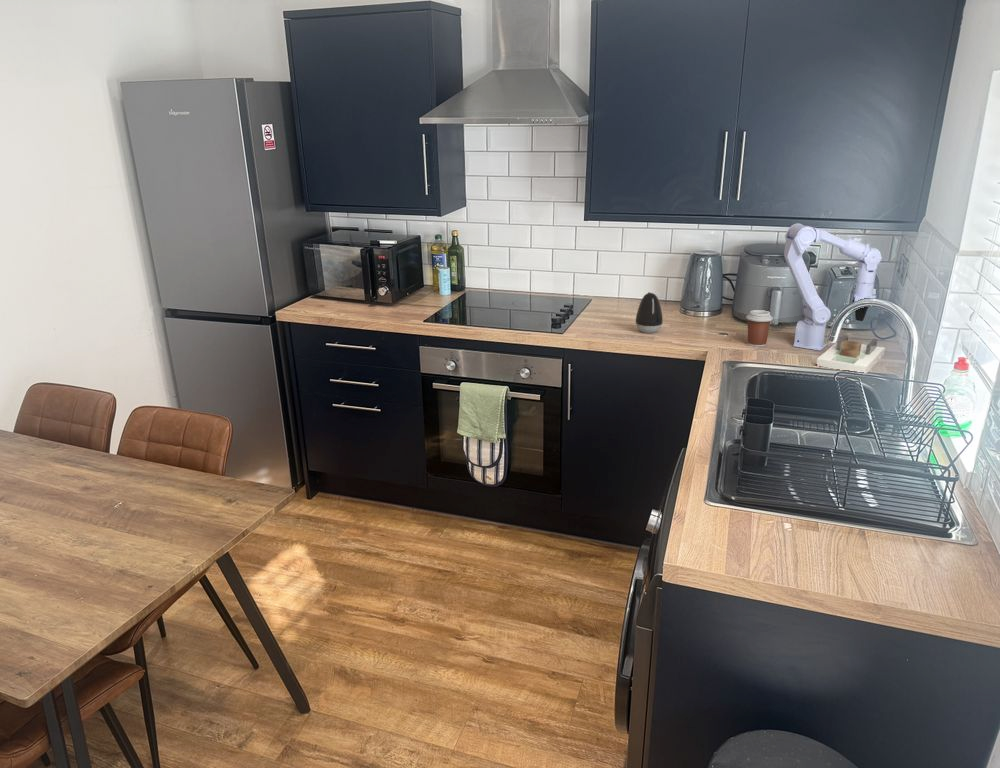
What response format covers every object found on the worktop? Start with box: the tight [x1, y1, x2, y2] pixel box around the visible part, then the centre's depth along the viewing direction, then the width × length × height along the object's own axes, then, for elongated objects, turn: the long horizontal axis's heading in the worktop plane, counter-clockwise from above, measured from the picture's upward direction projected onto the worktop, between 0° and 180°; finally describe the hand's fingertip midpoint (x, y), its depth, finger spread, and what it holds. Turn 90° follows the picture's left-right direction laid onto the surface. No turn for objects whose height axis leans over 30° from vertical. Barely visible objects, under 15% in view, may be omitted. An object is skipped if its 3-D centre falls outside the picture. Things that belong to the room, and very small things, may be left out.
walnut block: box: [840, 340, 862, 358], centre depth 243 cm, size 5×5×4 cm
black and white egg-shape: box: [635, 292, 664, 334], centre depth 282 cm, size 10×10×15 cm
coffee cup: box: [745, 309, 774, 348], centre depth 264 cm, size 9×9×12 cm
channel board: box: [815, 341, 886, 374], centre depth 246 cm, size 15×26×2 cm, turn 142°
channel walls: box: [836, 334, 878, 355], centre depth 249 cm, size 10×10×3 cm
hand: (859, 320), depth 259 cm, fingers closed
